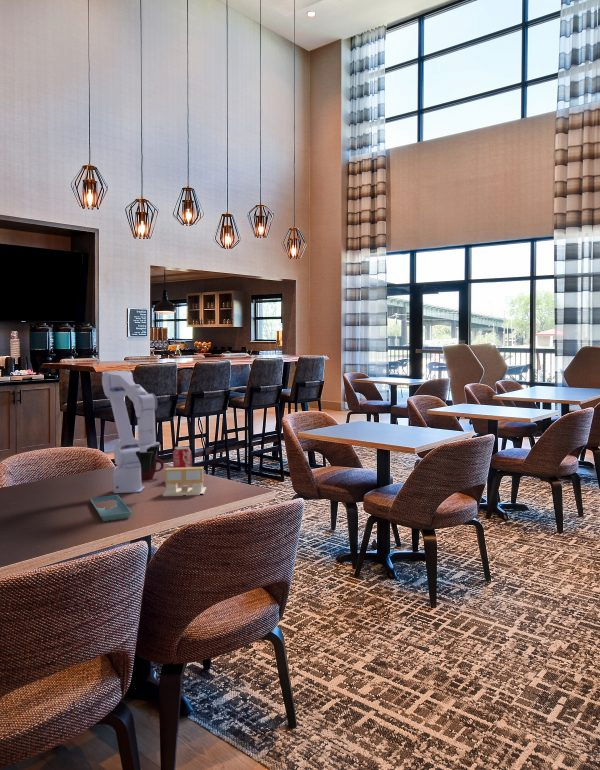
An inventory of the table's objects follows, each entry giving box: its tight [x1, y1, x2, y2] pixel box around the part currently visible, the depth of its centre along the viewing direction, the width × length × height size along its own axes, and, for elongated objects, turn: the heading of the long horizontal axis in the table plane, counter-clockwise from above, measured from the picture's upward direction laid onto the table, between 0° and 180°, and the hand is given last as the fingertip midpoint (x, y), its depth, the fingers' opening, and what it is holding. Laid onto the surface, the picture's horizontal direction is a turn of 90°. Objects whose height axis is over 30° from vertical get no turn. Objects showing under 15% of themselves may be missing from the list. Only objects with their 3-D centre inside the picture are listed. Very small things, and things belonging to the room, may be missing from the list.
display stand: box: [162, 482, 207, 497], centre depth 220 cm, size 14×9×4 cm, turn 92°
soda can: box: [172, 445, 193, 468], centre depth 244 cm, size 7×7×12 cm
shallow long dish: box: [89, 494, 132, 522], centre depth 200 cm, size 26×9×2 cm, turn 25°
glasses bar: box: [164, 466, 205, 485], centre depth 220 cm, size 13×3×5 cm, turn 92°
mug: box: [141, 452, 164, 480], centre depth 245 cm, size 11×8×10 cm
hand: (148, 469), depth 212 cm, fingers open, 7 cm apart
